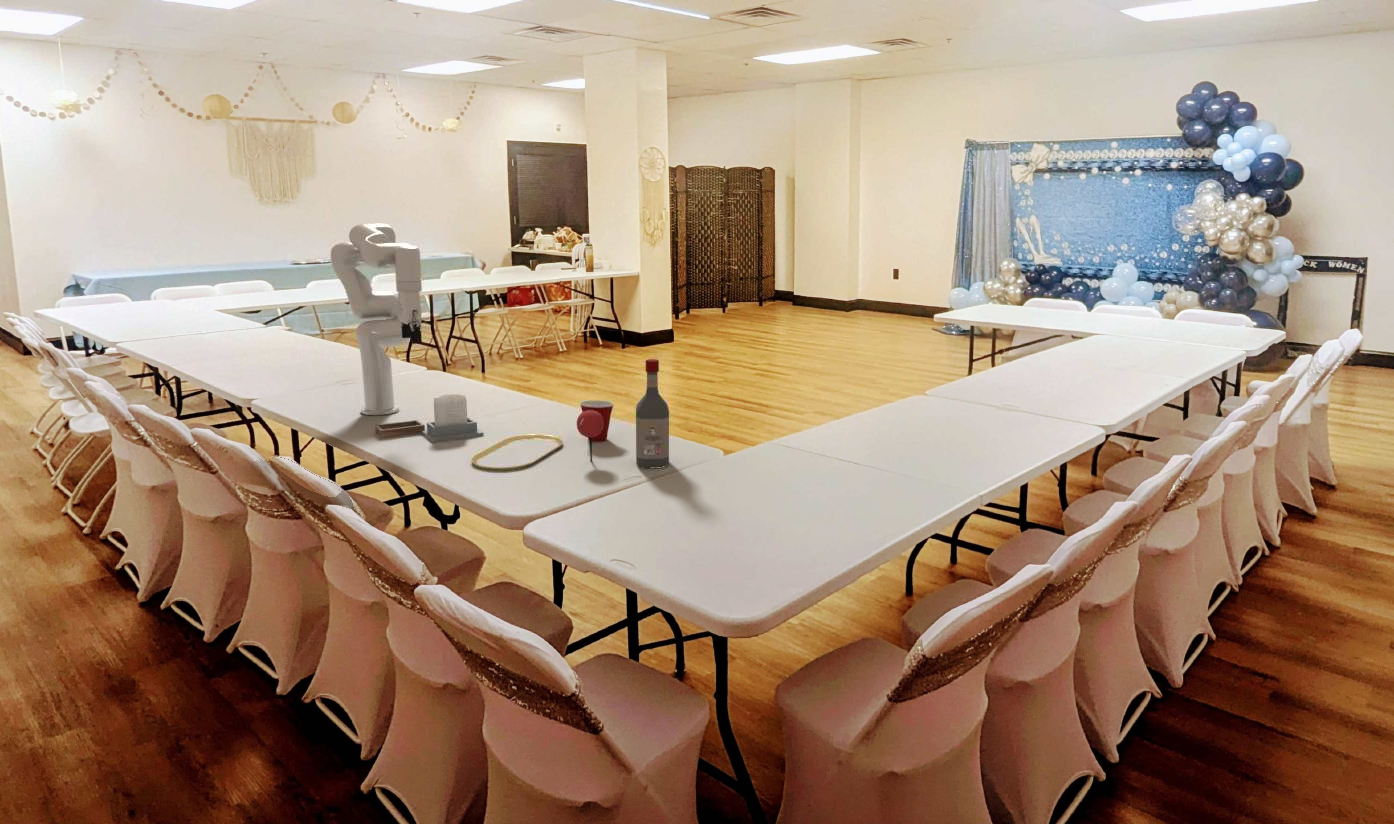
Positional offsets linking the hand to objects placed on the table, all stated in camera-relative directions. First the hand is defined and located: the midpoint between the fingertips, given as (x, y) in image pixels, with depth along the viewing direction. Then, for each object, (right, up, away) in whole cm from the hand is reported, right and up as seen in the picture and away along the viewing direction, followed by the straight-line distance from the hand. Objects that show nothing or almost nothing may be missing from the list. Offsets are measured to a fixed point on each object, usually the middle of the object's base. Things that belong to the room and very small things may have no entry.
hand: (411, 340), depth 286 cm
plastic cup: (+59, -31, -3) cm, 67 cm away
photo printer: (+13, -29, 0) cm, 32 cm away
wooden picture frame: (-4, -29, +2) cm, 29 cm away
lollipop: (+60, -37, -26) cm, 75 cm away
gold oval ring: (+38, -35, -19) cm, 55 cm away
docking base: (+13, -30, 0) cm, 32 cm away
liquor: (+77, -38, -28) cm, 90 cm away
